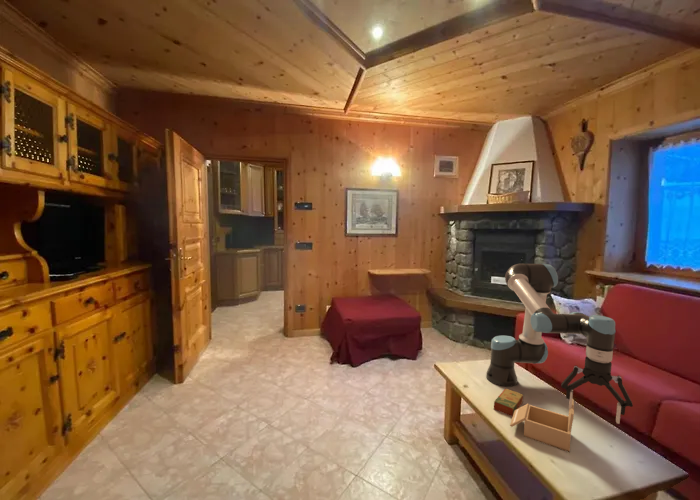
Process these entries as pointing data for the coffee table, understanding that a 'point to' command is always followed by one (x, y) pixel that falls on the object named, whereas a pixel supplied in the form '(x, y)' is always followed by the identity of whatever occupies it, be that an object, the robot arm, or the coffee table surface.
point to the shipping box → (543, 426)
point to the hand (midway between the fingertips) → (592, 414)
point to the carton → (508, 402)
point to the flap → (571, 416)
